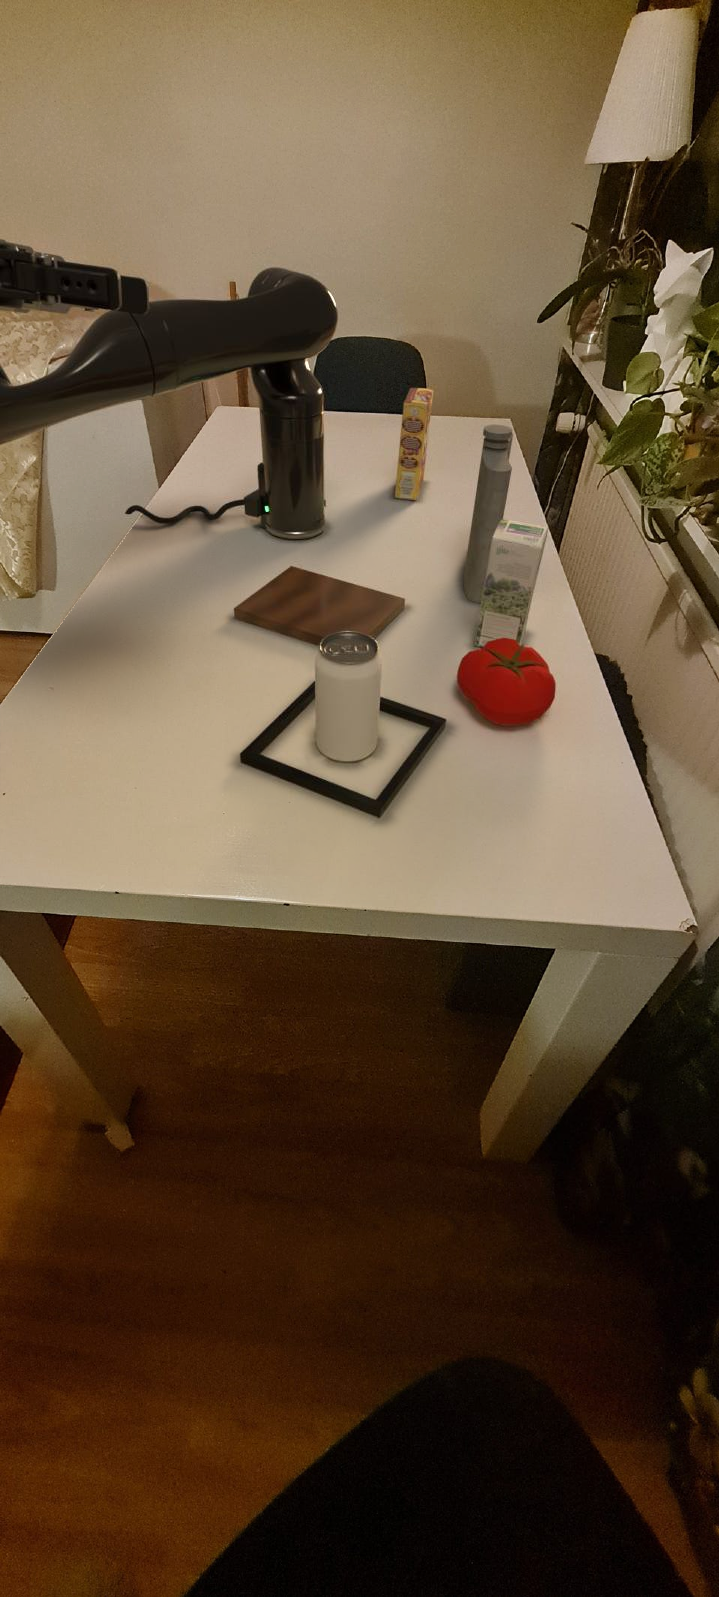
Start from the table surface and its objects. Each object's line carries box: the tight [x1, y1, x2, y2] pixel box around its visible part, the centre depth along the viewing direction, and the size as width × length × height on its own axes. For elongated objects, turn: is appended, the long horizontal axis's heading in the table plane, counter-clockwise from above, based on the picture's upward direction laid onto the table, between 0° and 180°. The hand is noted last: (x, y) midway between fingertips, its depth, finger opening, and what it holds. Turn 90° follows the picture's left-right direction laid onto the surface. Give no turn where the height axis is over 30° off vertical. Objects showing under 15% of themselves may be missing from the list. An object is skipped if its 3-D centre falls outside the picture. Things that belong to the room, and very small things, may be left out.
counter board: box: [233, 565, 406, 647], centre depth 94 cm, size 18×14×2 cm
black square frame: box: [239, 680, 447, 819], centre depth 74 cm, size 16×16×1 cm
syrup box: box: [474, 518, 549, 648], centre depth 86 cm, size 6×6×14 cm
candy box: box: [394, 387, 434, 501], centre depth 120 cm, size 9×4×15 cm, turn 169°
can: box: [314, 631, 383, 763], centre depth 71 cm, size 6×6×12 cm
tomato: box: [456, 638, 557, 727], centre depth 78 cm, size 10×11×6 cm
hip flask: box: [463, 424, 514, 604], centre depth 96 cm, size 16×4×20 cm, turn 170°
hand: (134, 293), depth 49 cm, fingers open, 8 cm apart
